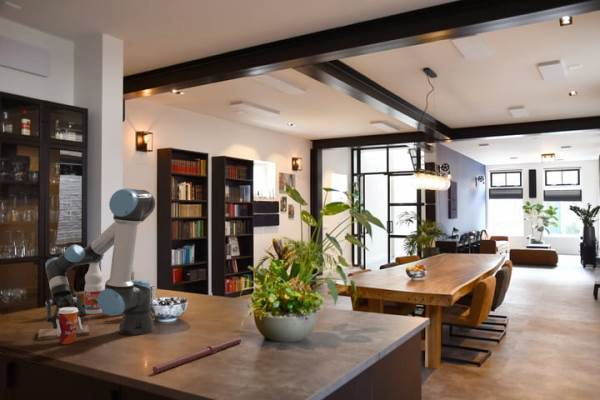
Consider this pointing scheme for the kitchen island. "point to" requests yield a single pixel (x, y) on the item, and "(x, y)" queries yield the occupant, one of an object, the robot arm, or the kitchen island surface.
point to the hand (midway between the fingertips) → (70, 332)
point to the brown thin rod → (195, 355)
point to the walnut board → (52, 334)
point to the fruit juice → (93, 289)
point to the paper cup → (68, 324)
